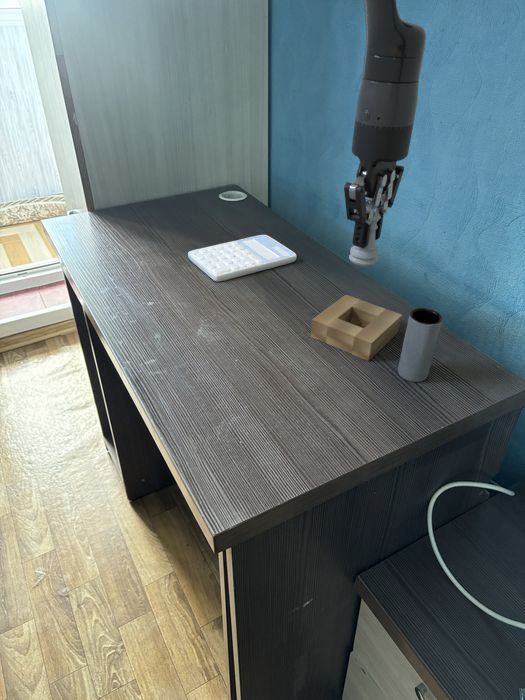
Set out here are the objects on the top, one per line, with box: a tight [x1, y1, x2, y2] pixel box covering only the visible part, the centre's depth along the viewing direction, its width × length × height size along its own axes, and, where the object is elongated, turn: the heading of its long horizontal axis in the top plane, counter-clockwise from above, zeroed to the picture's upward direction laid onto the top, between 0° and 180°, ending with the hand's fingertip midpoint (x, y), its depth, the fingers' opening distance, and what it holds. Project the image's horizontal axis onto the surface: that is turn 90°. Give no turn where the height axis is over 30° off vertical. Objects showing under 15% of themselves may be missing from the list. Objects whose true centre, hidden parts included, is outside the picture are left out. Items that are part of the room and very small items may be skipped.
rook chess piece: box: [348, 206, 381, 267], centre depth 77 cm, size 4×4×8 cm
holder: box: [310, 294, 403, 362], centre depth 87 cm, size 11×11×4 cm
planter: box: [397, 307, 443, 383], centre depth 76 cm, size 4×4×10 cm
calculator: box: [187, 234, 298, 282], centre depth 110 cm, size 13×20×2 cm, turn 122°
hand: (366, 241), depth 77 cm, fingers closed on rook chess piece, 3 cm apart
